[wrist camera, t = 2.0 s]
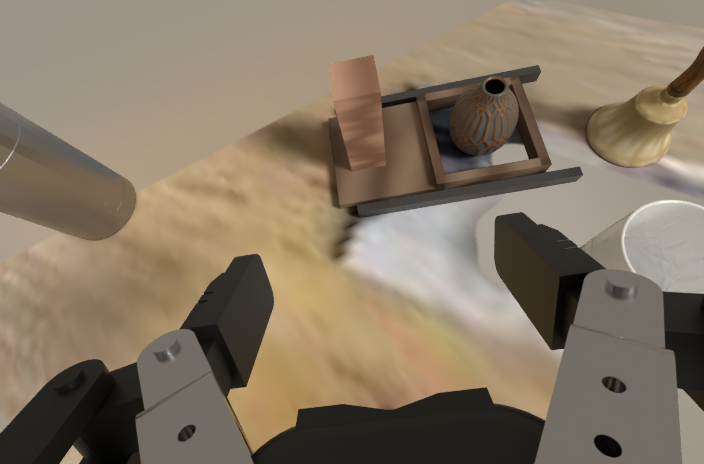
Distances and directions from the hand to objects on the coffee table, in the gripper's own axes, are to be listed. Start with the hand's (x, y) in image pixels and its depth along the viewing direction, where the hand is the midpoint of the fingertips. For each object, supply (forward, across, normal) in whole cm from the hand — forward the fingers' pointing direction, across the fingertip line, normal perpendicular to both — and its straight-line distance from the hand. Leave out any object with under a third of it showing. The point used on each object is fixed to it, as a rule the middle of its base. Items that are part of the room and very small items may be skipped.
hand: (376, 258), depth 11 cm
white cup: (+18, -21, +17) cm, 33 cm away
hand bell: (+29, -29, +6) cm, 41 cm away
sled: (+30, -8, +4) cm, 32 cm away
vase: (+31, -13, +4) cm, 34 cm away
